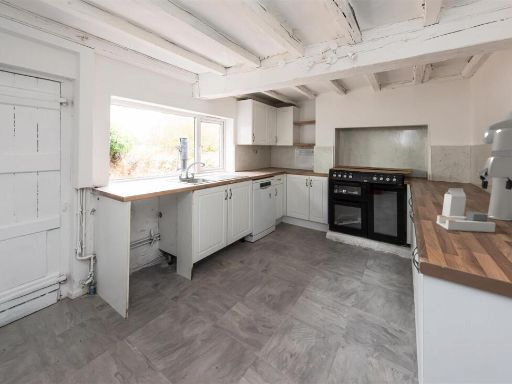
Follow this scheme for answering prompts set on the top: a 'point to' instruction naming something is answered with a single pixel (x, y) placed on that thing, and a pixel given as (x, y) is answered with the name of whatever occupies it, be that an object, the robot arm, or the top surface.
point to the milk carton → (454, 202)
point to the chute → (464, 224)
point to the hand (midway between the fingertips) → (496, 189)
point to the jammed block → (476, 216)
